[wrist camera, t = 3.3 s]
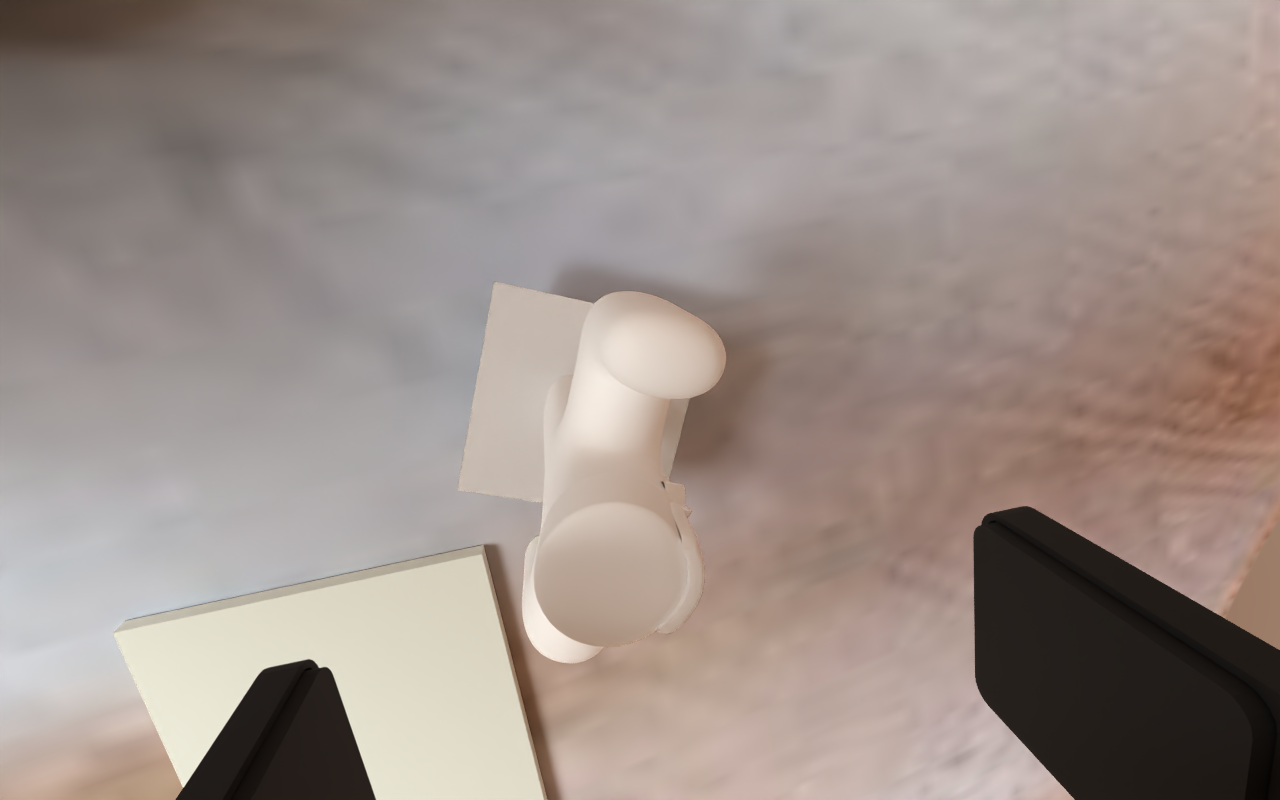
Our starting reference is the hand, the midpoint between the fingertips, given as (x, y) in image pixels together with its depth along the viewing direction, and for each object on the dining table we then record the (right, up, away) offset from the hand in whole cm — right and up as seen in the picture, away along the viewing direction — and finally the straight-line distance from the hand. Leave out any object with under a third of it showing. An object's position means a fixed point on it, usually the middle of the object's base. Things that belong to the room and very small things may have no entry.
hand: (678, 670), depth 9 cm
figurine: (-3, +5, +16) cm, 17 cm away
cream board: (-13, -10, +19) cm, 25 cm away
